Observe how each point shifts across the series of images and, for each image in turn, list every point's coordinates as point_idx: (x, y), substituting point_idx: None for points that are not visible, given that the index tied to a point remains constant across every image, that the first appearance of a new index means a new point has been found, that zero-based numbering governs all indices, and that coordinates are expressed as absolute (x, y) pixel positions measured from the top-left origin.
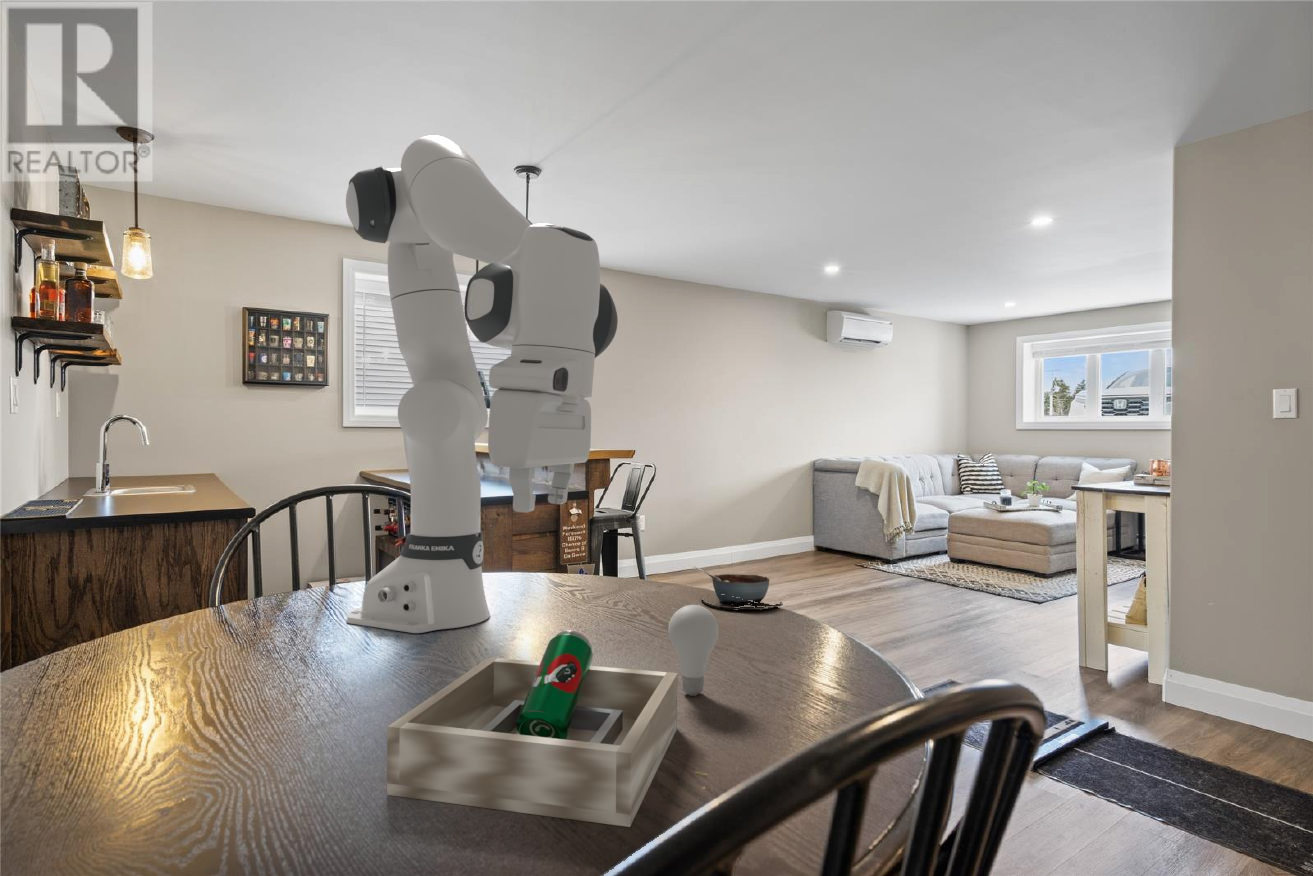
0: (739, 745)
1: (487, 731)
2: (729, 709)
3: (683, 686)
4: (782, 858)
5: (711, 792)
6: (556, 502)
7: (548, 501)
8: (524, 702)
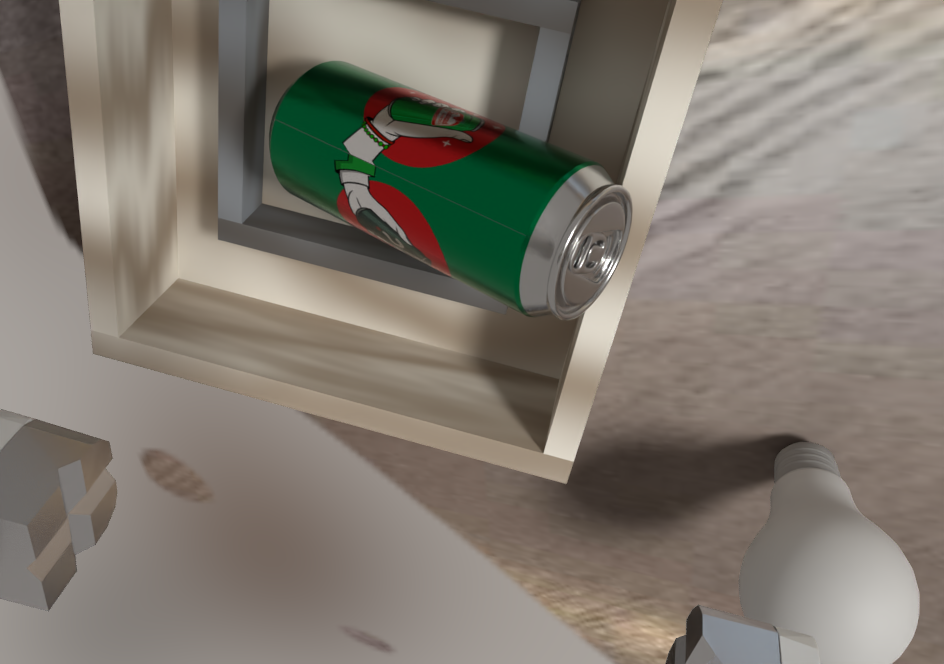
0: (500, 488)
1: (93, 43)
2: (698, 509)
3: (797, 450)
4: (149, 463)
5: (306, 413)
6: (678, 649)
7: (700, 608)
8: (335, 97)
